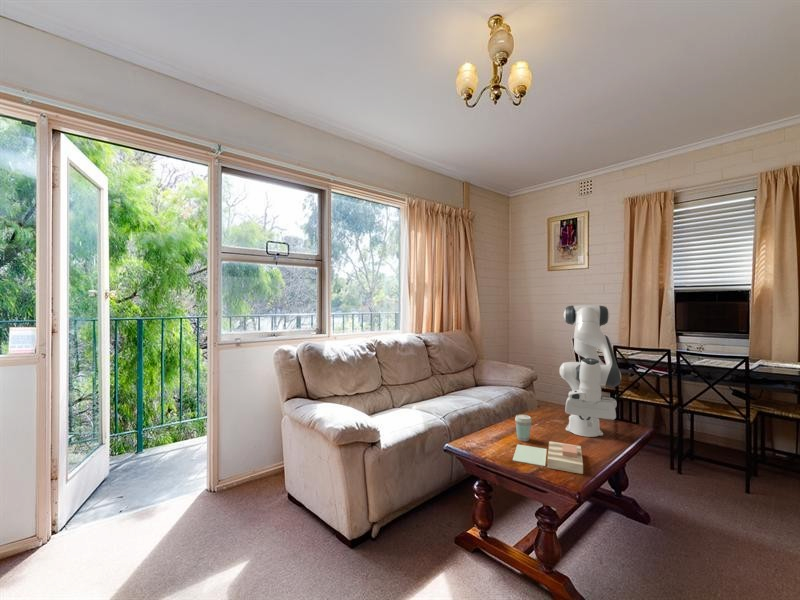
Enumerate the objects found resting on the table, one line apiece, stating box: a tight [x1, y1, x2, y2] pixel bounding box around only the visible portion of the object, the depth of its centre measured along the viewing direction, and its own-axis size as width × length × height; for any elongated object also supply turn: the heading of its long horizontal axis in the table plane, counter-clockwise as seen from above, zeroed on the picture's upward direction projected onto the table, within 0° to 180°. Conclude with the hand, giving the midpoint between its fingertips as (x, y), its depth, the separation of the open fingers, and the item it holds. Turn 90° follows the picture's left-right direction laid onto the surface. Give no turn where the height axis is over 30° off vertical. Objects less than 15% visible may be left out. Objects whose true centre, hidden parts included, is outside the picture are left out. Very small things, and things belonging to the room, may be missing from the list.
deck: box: [547, 441, 584, 475], centre depth 170 cm, size 22×14×4 cm, turn 156°
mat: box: [511, 443, 548, 467], centre depth 176 cm, size 20×14×1 cm
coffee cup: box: [514, 414, 533, 442], centre depth 195 cm, size 8×9×12 cm
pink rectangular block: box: [563, 443, 577, 458], centre depth 169 cm, size 9×6×2 cm, turn 156°
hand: (589, 426), depth 166 cm, fingers closed
